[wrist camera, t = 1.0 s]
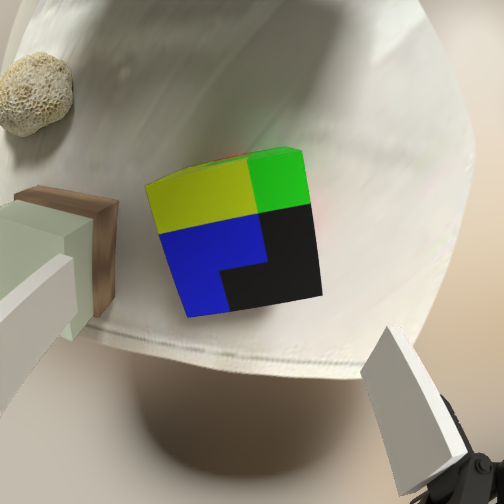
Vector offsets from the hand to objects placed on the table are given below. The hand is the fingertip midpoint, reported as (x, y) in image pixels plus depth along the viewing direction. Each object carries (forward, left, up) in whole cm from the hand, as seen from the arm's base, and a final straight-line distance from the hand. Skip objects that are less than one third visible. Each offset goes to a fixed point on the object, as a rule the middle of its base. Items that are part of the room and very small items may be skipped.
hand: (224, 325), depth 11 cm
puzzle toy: (0, 0, -19) cm, 19 cm away
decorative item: (-9, -26, -19) cm, 33 cm away
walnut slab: (+8, -19, -19) cm, 28 cm away
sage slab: (+8, -19, -14) cm, 25 cm away
